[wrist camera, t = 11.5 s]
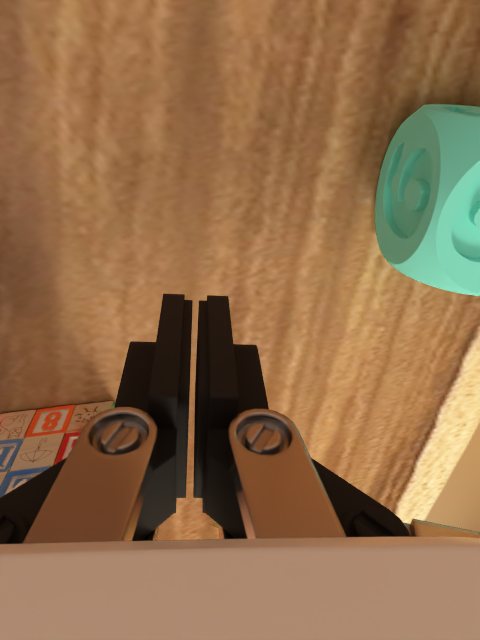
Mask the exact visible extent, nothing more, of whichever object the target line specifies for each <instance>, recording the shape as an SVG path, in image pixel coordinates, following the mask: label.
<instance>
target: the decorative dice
mask: <svg viewBox="0 0 480 640" xmlns="http://www.w3.org/2000/svg"><path fill="white" fill-rule="evenodd" d="M375 227H376V235H377V240H378V244H379V247H380V250H381V252H382V254H383V256H384V257H385V259H386V260H387V261H388V262H389V264H390V265H391V266H393V267H394V268H395V269H396V270H398V271H399V272H401V273H403V274H404V275H406V276H408V277H410V278H412V279H414V280H417V281H419V282H421V283H424V284H427V285H430V286H433V287H436V288H439V289H443V290H447V291H451V292H456V293H461V294H468V295H476V296H480V107H478V106H466V105H450V104H426V105H423V106H422V107H420V108H419V109H418V110H417V111H415V112H414V113H413V114H412V115H411V116H409V117H408V118H407V119H406V120H405V121H404V122H403V123H402V124H401V126H400V127H399V128H398V130H397V131H396V133H395V135H394V137H393V138H392V140H391V143H390V145H389V147H388V149H387V152H386V155H385V158H384V161H383V164H382V168H381V171H380V176H379V180H378V186H377V193H376V203H375Z"/></svg>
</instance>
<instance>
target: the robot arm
mask: <svg viewBox="0 0 480 640" xmlns="http://www.w3.org/2000/svg"><path fill="white" fill-rule="evenodd" d="M184 297H185V296H184V295H183V294H163V300H162V307H161V314H160V320H159V327H158V334H157V340H156V342H130V345H129V349H128V353H127V357H126V361H125V366H124V370H123V374H122V378H121V382H120V386H119V391H118V395H117V399H116V403H115V407H114V408H112V409H107V410H105V411H103V412H100V413H98V414H96V415H95V416H94V417H92V418H91V419H90V420H88V422H87V423H86V424H85V426H84V427H83V429H82V430H81V432H80V434H79V436H78V438H77V440H76V442H75V444H74V446H73V448H72V450H71V452H70V453H69V455H68V457H66V458H65V459H63V460H61V461H60V462H58V463H56V464H55V465H53V466H52V467H50V468H48V469H47V470H45V471H43V472H42V473H40V474H38V475H37V476H35V477H33V478H32V479H30V480H29V481H27V482H25V483H24V484H22V485H20V486H19V487H17V488H15V489H14V490H12V491H10V492H9V493H7V494H5V495H4V496H2V497H1V498H0V640H480V532H476V531H471V530H466V529H461V528H456V527H451V526H446V525H441V524H436V523H431V522H426V521H421V520H416V519H413V520H412V522H411V524H407V523H403V522H402V521H401V520H400V518H398V517H397V516H396V515H395V514H394V513H392V512H391V511H390V510H389V509H387V508H386V507H384V506H383V505H381V504H380V503H378V502H377V501H375V500H374V499H372V498H371V497H369V496H368V495H366V494H365V493H363V492H362V491H360V490H359V489H357V488H356V487H354V486H353V485H351V484H350V483H348V482H347V481H345V480H344V479H342V478H341V477H339V476H338V475H336V474H335V473H333V472H331V471H330V470H328V469H327V468H325V467H324V466H322V465H321V464H319V463H318V462H316V461H315V460H313V459H312V458H311V457H310V455H309V453H308V451H307V448H306V446H305V444H304V442H303V440H302V437H301V435H300V433H299V431H298V429H297V427H296V426H295V424H294V423H293V422H292V421H291V420H290V419H289V418H287V417H286V416H285V415H283V414H281V413H278V412H276V411H273V410H269V408H268V402H267V397H266V391H265V386H264V381H263V375H262V370H261V365H260V359H259V354H258V349H257V346H256V345H237V344H233V337H232V328H231V319H230V310H229V300H228V296H208V295H207V301H199V313H198V336H197V359H196V382H195V434H194V498H203V513H206V514H207V515H209V516H210V517H211V518H212V519H213V520H214V521H215V522H217V523H218V524H219V538H220V539H209V540H159V541H157V539H158V530H159V525H160V524H162V523H163V522H164V521H165V520H166V519H167V518H169V517H170V516H171V515H172V514H173V513H176V498H186V476H187V448H188V419H189V390H190V360H191V329H192V300H184Z"/></svg>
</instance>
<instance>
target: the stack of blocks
mask: <svg viewBox="0 0 480 640" xmlns="http://www.w3.org/2000/svg"><path fill="white" fill-rule="evenodd" d="M114 407H115V404H114V402H113V401H106V402H99V403H90V404H82V405H77V406H76V405H68V406H60V407H52V408H45V409H39V410H27V411H19V412H11V413H4V414H0V498H1V497H2V496H4V495H5V494H7V493H9V492H10V491H12V490H14V489H15V488H17V487H19V486H20V485H22V484H24V483H25V482H27V481H29V480H30V479H32V478H33V477H35V476H37V475H38V474H40V473H42V472H43V471H45V470H47V469H48V468H50V467H52V466H53V465H55V464H56V463H58V462H60V461H61V460H63V459H65V458H66V457H68V455H69V453H70V452H71V450H72V448H73V446H74V444H75V442H76V440H77V438H78V436H79V434H80V432H81V430H82V429H83V427H84V426H85V424H86V423H87V422H88V420H90V419H91V418H92V417H94V416H95V415H96V414H98V413H100V412H103V411H105V410H107V409H112V408H114Z"/></svg>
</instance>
